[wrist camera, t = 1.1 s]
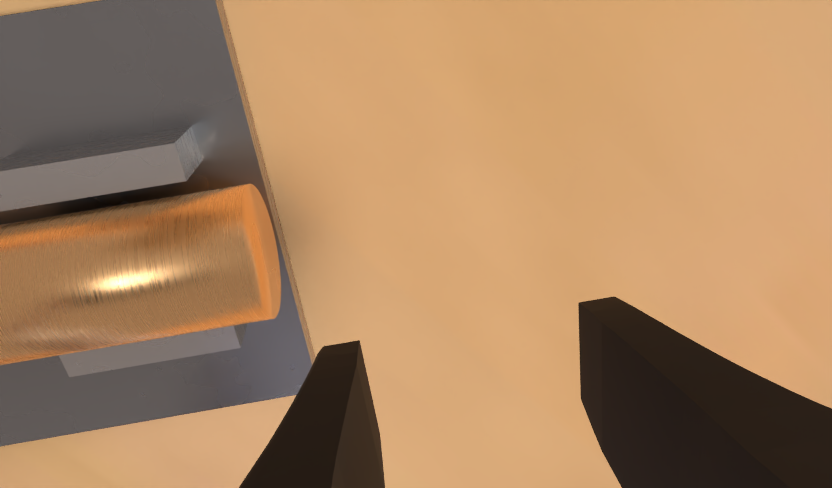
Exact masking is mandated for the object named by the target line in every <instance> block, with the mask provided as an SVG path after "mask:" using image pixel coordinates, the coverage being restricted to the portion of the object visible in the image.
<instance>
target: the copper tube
mask: <svg viewBox="0 0 832 488" xmlns="http://www.w3.org/2000/svg"><path fill="white" fill-rule="evenodd" d="M280 302H281V276H280V266H279V258H278V252H277V246H276V241H275V236H274V232H273V228H272V224H271V220H270V217H269V214H268V211H267V208H266V205H265V203H264V200H263V198H262V196H261V194H260V192H259V191H258V189H257V188H256V187H255V186H254V185H253V184H246V185H240V186H234V187H227V188H221V189H215V190H209V191H203V192H197V193H191V194H185V195H179V196H173V197H167V198H161V199H154V200H148V201H142V202H136V203H130V204H124V205H118V206H112V207H106V208H100V209H94V210H87V211H81V212H75V213H69V214H63V215H57V216H51V217H45V218H39V219H33V220H27V221H21V222H14V223H8V224H2V225H0V365H6V364H11V363H17V362H23V361H29V360H35V359H41V358H47V357H52V356H58V355H64V354H70V353H76V352H82V351H88V350H94V349H99V348H105V347H111V346H117V345H123V344H129V343H135V342H140V341H146V340H152V339H158V338H164V337H170V336H176V335H182V334H187V333H193V332H199V331H205V330H211V329H217V328H223V327H228V326H234V325H240V324H246V323H252V322H258V321H264V320H270V319H274V318H276V316H277V315H278V312H279V309H280Z"/></svg>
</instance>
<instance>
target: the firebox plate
mask: <svg viewBox="0 0 832 488" xmlns="http://www.w3.org/2000/svg"><path fill="white" fill-rule="evenodd" d="M246 184H253V185H254V186H255V187H256V188H257V189H258V191H259V192H260V194H261V196H262V198H263V200H264V203H265V205H266V208H267V211H268V214H269V217H270V220H271V224H272V228H273V232H274V236H275V241H276V246H277V252H278V258H279V266H280V276H281V302H280V309H279V312H278V315H277V316H276V318H274V319H270V320H264V321H258V322H252V323H246V324H240V325H234V326H228V327H223V328H217V329H211V330H205V331H199V332H193V333H187V334H182V335H176V336H170V337H164V338H158V339H152V340H146V341H140V342H135V343H129V344H123V345H117V346H111V347H105V348H99V349H94V350H88V351H82V352H76V353H70V354H64V355H58V356H52V357H47V358H41V359H35V360H29V361H23V362H17V363H11V364H6V365H0V446H5V445H11V444H16V443H22V442H28V441H34V440H39V439H45V438H51V437H57V436H62V435H68V434H74V433H80V432H85V431H91V430H97V429H103V428H108V427H114V426H120V425H126V424H131V423H137V422H143V421H149V420H154V419H160V418H166V417H172V416H177V415H183V414H189V413H195V412H200V411H206V410H212V409H218V408H223V407H229V406H235V405H241V404H246V403H252V402H258V401H264V400H269V399H275V398H281V397H286V396H292V395H297V394H298V392H299V390H300V388H301V386H302V384H303V382H304V381H305V379H306V377H307V375H308V373H309V371H310V369H311V367H312V365H313V363H314V361H315V355H314V351H313V347H312V343H311V340H310V336H309V332H308V328H307V324H306V320H305V317H304V313H303V309H302V305H301V301H300V297H299V294H298V290H297V286H296V282H295V278H294V274H293V271H292V267H291V263H290V259H289V255H288V251H287V248H286V244H285V240H284V236H283V232H282V228H281V225H280V221H279V217H278V213H277V209H276V206H275V202H274V198H273V194H272V190H271V186H270V183H269V179H268V175H267V171H266V167H265V163H264V160H263V156H262V152H261V148H260V144H259V140H258V137H257V133H256V129H255V125H254V121H253V117H252V114H251V110H250V106H249V102H248V98H247V94H246V91H245V87H244V83H243V79H242V75H241V71H240V68H239V64H238V60H237V56H236V52H235V48H234V45H233V41H232V37H231V33H230V29H229V25H228V22H227V18H226V14H225V10H224V6H223V3H222V0H101V1H95V2H88V3H82V4H76V5H69V6H63V7H56V8H50V9H43V10H37V11H30V12H24V13H18V14H11V15H5V16H0V225H2V224H8V223H14V222H21V221H27V220H33V219H39V218H45V217H51V216H57V215H63V214H69V213H75V212H81V211H87V210H94V209H100V208H106V207H112V206H118V205H124V204H130V203H136V202H142V201H148V200H154V199H161V198H167V197H173V196H179V195H185V194H191V193H197V192H203V191H209V190H215V189H221V188H227V187H234V186H240V185H246Z"/></svg>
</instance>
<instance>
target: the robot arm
mask: <svg viewBox="0 0 832 488" xmlns="http://www.w3.org/2000/svg"><path fill="white" fill-rule="evenodd" d="M579 341H580V381H581V400H582V403H583V405H584V408H585V410H586V413H587V415H588V418H589V420H590V423H591V426H592V428H593V430H594V433H595V435H596V438H597V440H598V442H599V445H600V447H601V450H602V452H603V454H604V456H605V457H606V459H607V461H608V463H609V465H610V467H611V468H612V470H613V472H614V474H615V476H616V477H617V479H618V481H619V483H620V485H621V487H622V488H832V409H831V408H829V407H826V406H824V405H821V404H819V403H817V402H814V401H812V400H810V399H808V398H805V397H803V396H801V395H799V394H796V393H794V392H792V391H790V390H788V389H786V388H784V387H782V386H780V385H777V384H775V383H773V382H771V381H769V380H767V379H765V378H763V377H761V376H759V375H757V374H755V373H753V372H751V371H749V370H747V369H745V368H743V367H741V366H739V365H737V364H735V363H733V362H731V361H729V360H727V359H725V358H724V357H722V356H720V355H718V354H716V353H714V352H712V351H711V350H709V349H707V348H705V347H703V346H701V345H700V344H698V343H696V342H694V341H692V340H691V339H689V338H687V337H685V336H684V335H682V334H680V333H678V332H676V331H675V330H673V329H671V328H670V327H668V326H666V325H664V324H663V323H661V322H659V321H657V320H656V319H654V318H652V317H650V316H649V315H647V314H645V313H643V312H642V311H640V310H638V309H637V308H635V307H633V306H631V305H629V304H628V303H626V302H624V301H622V300H620V299H618V298H616V297H609V298H603V299H597V300H592V301H586V302H580V303H579ZM239 488H385V483H384V472H383V461H382V451H381V440H380V432H379V428H378V423H377V419H376V414H375V409H374V405H373V400H372V396H371V391H370V386H369V382H368V377H367V373H366V368H365V364H364V359H363V354H362V350H361V345H360V341H353V342H347V343H342V344H336V345H330V346H324V347H323V348H322V349H321V350H320V352H319V353H318V354H317V357H316V359H315V361H314V363H313V365H312V367H311V369H310V371H309V373H308V375H307V377H306V379H305V381H304V382H303V384H302V386H301V388H300V390H299V392H298V394H297V396H296V397H295V399H294V401H293V403H292V405H291V406H290V408H289V410H288V411H287V413H286V415H285V417H284V418H283V420H282V422H281V423H280V425H279V427H278V428H277V430H276V432H275V434H274V435H273V437H272V438H271V440H270V442H269V443H268V445H267V446H266V448H265V449H264V451H263V452H262V454H261V455H260V457H259V458H258V460H257V461H256V463H255V464H254V466H253V467H252V469H251V470H250V472H249V473H248V475H247V476H246V478H245V479H244V481H243V482H242V484H241V485H240V487H239Z"/></svg>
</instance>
